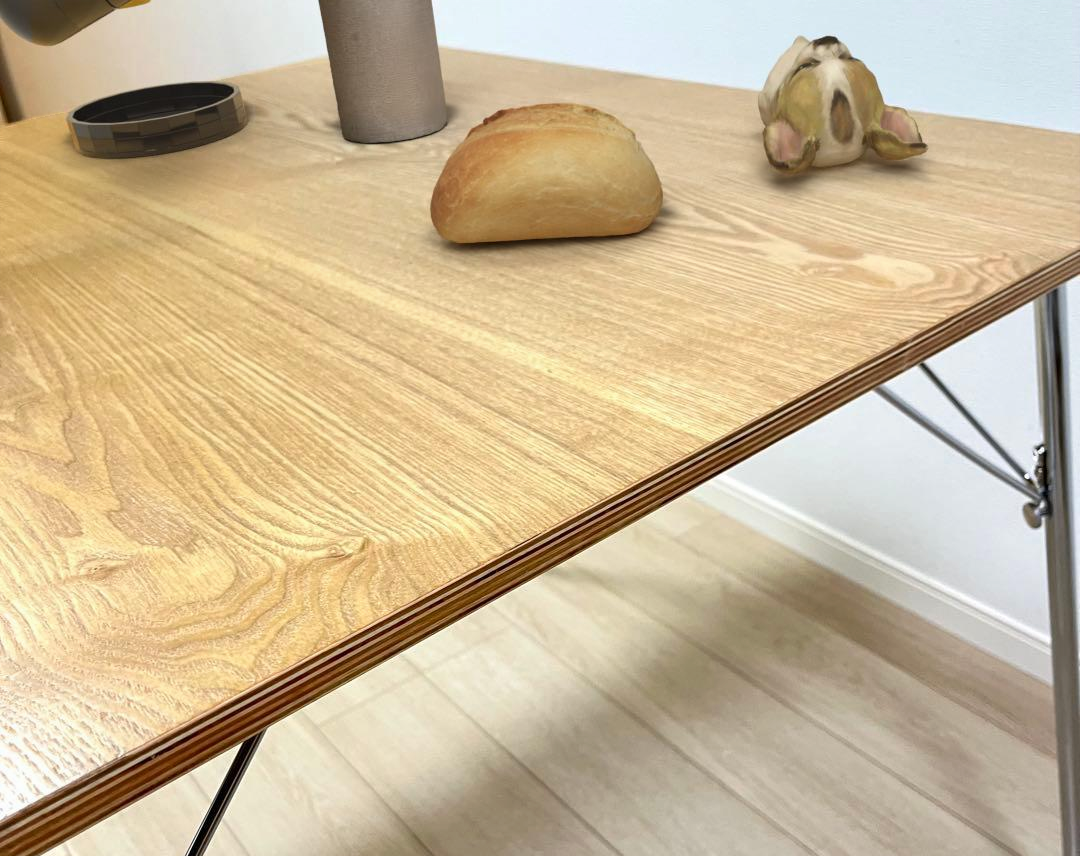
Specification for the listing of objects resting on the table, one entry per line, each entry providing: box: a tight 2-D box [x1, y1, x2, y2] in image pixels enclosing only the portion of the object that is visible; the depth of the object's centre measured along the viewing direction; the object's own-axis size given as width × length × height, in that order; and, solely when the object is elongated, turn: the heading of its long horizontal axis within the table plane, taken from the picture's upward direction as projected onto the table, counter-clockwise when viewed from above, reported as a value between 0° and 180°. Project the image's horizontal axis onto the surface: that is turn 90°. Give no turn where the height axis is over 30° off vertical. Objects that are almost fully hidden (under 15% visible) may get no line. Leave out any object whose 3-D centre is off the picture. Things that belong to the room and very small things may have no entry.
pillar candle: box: [317, 0, 448, 144], centre depth 99 cm, size 10×10×15 cm
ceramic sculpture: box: [757, 35, 929, 175], centre depth 80 cm, size 11×9×15 cm
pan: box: [65, 80, 248, 159], centre depth 109 cm, size 16×16×3 cm
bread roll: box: [429, 102, 664, 244], centre depth 73 cm, size 10×15×8 cm, turn 93°
